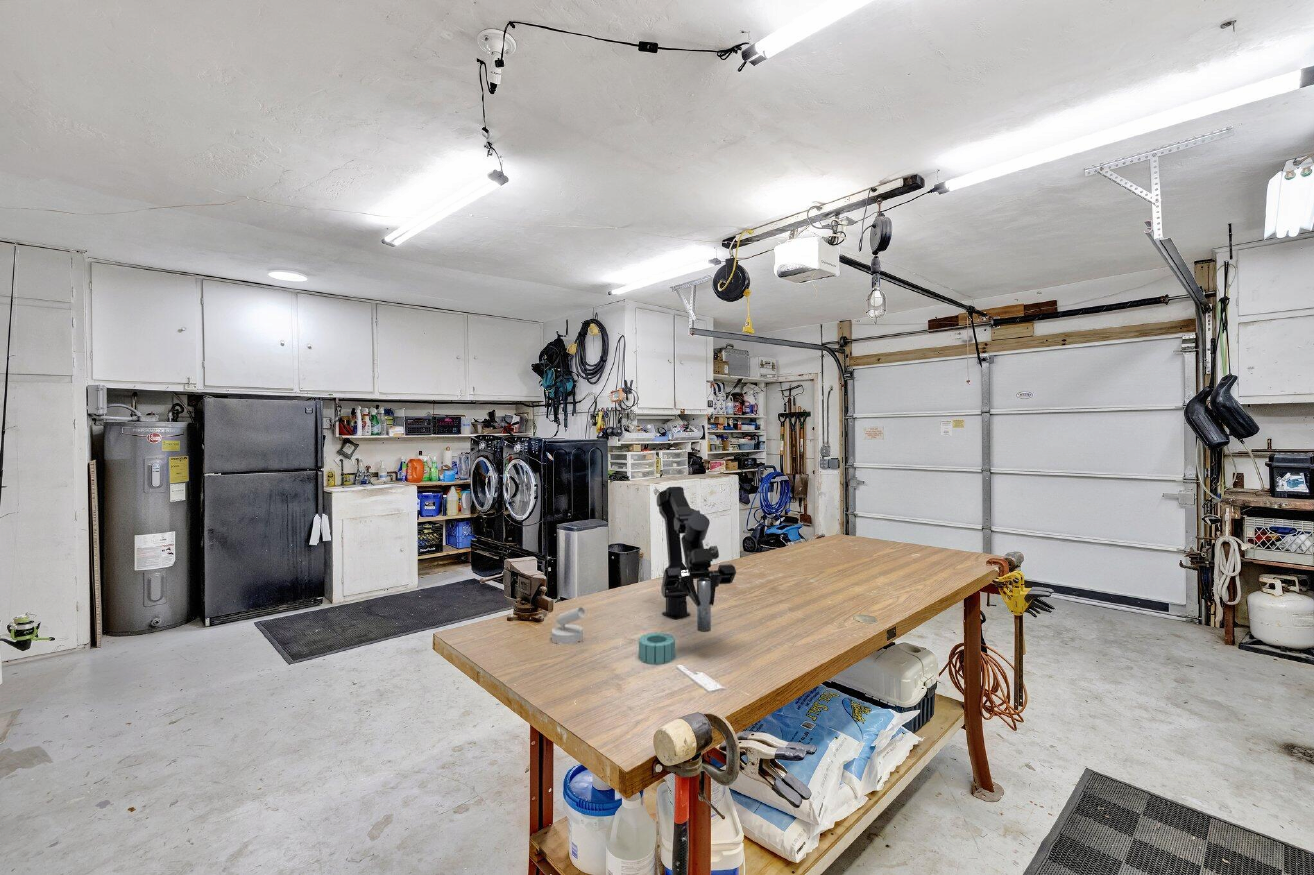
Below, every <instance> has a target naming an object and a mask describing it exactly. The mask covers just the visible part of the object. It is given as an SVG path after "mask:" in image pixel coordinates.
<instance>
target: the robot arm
mask: <svg viewBox="0 0 1314 875" xmlns="http://www.w3.org/2000/svg"><path fill="white" fill-rule="evenodd" d="M684 490H685V489H684V488H683V487H682V486H669V487H666V488H665V489H664V490H661V491H659V492H658V494H657V496H656V506H657V507H658V512H659V514H660V516H661V517H662V518H663V520H664V525H665V526H664V528H665V539H666V540H665V541H666V549H667V559H668V560H667V561H668V562H667V563H668V565H667V567H666V568H665V569H664V571H663V575H662V582H661V586H660V588H661V595H662V597H663V599H665V611H662V612H661V614H662V615H663V616H666V617H667V618H668V617H669V618H671V619H674V620H678V619H681V618H684V617H688V616H691V613H690V612H688V602H687V597H689V598H690V599H691V601H692V603H693V604H694V605H695V606H696V608H697V607H698V606H699V601H698V597H697V589H696V586H695V580H698V579H709V580H711V607H712V606H714V603H715V596H716V588H718V587H719V585H729V584H732V583H733V581H734V579H735V576H736V574H737V570H736V567H735V566H734V565H733V564H732V563H730V564H727V563H726V564H719V565H718V568H717V569H716V570H715V569H714V570H713V569H711V570H710V568H711V567H712V562H713V561H714V560H718V558H719V557H720V553H719V548H718V546H717V545H710V547H707V548H705V547H704V542H703V541H705V540H706V536H707V533H708V530H709V527H710V519H709V518H708V517H707V516H706V515H705V514H703V513H701V511H700V510H699V509H698V510H696V509H694V508H691V506H690V504H689V502H688V500H687V497H686V495H685V491H684ZM681 534H683V535H682V537H681ZM682 551H683V552H682ZM683 556H684V562H683Z"/></svg>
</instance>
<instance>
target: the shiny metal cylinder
mask: <svg viewBox="0 0 1314 875" xmlns="http://www.w3.org/2000/svg"><path fill="white" fill-rule="evenodd" d="M696 593H697V597H698V601H699V606H698V607H697V606H696V630H697V631H698V632H701V633H708V632H711V631H712V605H711V580H709V579H696Z"/></svg>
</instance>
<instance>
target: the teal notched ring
mask: <svg viewBox="0 0 1314 875" xmlns="http://www.w3.org/2000/svg"><path fill="white" fill-rule="evenodd" d="M638 658H639V660H640V661H641V662H643V663H645V664H649V665H650V664H651V665H663V664H667V663H670V662H673V661H674V659H675V658H676V639H675V637H674V636H673V635H672V634H669V633H664V632H651V633H649V632H648V633H645V634H643V635H641V636H640V637H638Z"/></svg>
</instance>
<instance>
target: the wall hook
mask: <svg viewBox="0 0 1314 875" xmlns="http://www.w3.org/2000/svg"><path fill="white" fill-rule="evenodd" d="M585 617H586V610H585V608H584V607H583V606H578V607H576V608H574V609H570V610H568V611H565V612H562V613H561V614H558V615H557V618H556V622H557V624H558V625H557V626H554V627H553V628H552V629H551V642H552V641H554V642H555V643H554V642H553V643H554V644H556V643H562V644H568V645H571V644H570V643H574V644H577V643H579V642H578V641H580V642H581V641H582V640H583V639H584V628H583V626H581V625H578V624H570V623H574V622H575V621H579V620H581V619H584V618H585ZM562 644H561V645H562Z"/></svg>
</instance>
